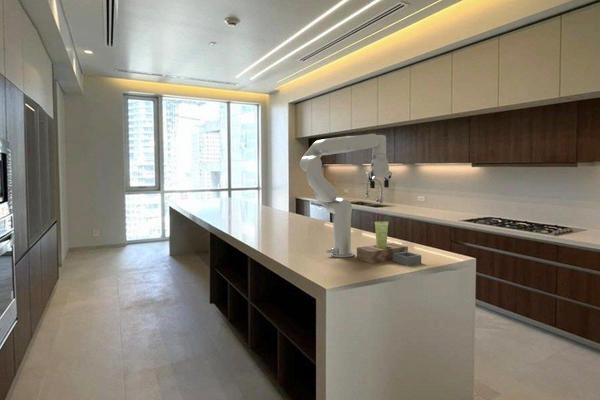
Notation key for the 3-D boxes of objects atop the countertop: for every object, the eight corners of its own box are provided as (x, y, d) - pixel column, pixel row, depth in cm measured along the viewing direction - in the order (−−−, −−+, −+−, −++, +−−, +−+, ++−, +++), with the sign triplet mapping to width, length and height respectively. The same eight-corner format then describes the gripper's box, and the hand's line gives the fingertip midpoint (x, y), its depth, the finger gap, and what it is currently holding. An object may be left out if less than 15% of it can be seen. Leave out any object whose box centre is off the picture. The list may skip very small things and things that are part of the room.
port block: (370, 263, 188) (370, 251, 187) (356, 258, 198) (356, 247, 198) (407, 257, 198) (407, 246, 197) (392, 253, 209) (392, 242, 208)
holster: (406, 265, 182) (406, 257, 182) (392, 261, 191) (392, 253, 191) (421, 263, 186) (421, 255, 186) (406, 259, 195) (406, 251, 195)
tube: (380, 256, 202) (380, 220, 201) (388, 257, 199) (388, 221, 197) (374, 258, 198) (374, 221, 197) (383, 259, 195) (382, 222, 193)
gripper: (370, 157, 205) (371, 188, 206) (395, 157, 212) (396, 187, 213) (362, 157, 211) (363, 188, 213) (387, 157, 219) (387, 187, 220)
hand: (379, 187), depth 213 cm, fingers open, 9 cm apart
